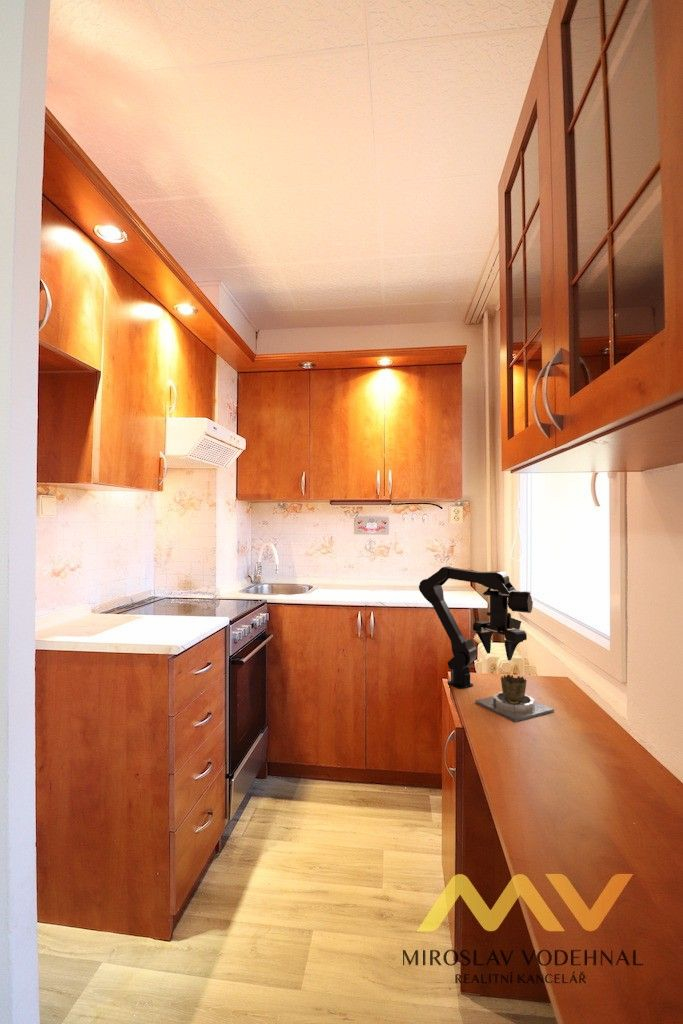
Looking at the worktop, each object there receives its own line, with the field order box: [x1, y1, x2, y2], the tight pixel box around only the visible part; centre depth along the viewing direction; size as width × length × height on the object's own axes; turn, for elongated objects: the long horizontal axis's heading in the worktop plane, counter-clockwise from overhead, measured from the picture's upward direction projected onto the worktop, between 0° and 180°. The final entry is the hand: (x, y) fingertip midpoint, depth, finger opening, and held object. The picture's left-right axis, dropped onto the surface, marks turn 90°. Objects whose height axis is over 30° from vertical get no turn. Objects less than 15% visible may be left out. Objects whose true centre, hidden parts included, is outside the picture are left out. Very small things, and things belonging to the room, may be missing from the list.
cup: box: [500, 674, 527, 704], centre depth 146 cm, size 8×7×8 cm
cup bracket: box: [474, 691, 555, 723], centre depth 146 cm, size 16×16×3 cm
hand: (498, 656), depth 158 cm, fingers open, 9 cm apart
